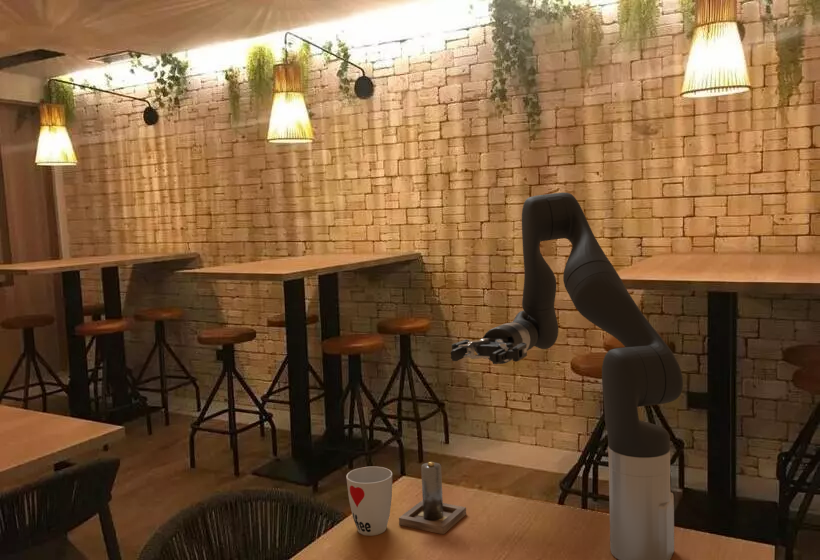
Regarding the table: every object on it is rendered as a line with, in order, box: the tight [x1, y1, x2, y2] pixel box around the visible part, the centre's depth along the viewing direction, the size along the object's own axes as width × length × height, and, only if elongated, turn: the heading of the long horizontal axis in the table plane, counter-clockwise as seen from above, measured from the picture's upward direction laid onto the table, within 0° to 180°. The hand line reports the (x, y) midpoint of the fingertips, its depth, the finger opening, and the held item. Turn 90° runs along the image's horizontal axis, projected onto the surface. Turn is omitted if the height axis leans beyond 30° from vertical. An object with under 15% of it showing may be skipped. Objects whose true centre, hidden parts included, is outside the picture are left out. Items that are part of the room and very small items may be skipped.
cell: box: [420, 461, 444, 520], centre depth 125 cm, size 4×4×10 cm
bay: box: [398, 499, 467, 535], centre depth 126 cm, size 9×9×1 cm
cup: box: [345, 466, 393, 536], centre depth 122 cm, size 8×8×10 cm
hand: (473, 357), depth 131 cm, fingers open, 8 cm apart
